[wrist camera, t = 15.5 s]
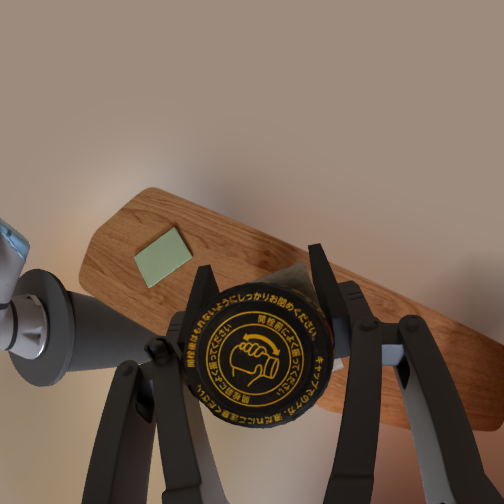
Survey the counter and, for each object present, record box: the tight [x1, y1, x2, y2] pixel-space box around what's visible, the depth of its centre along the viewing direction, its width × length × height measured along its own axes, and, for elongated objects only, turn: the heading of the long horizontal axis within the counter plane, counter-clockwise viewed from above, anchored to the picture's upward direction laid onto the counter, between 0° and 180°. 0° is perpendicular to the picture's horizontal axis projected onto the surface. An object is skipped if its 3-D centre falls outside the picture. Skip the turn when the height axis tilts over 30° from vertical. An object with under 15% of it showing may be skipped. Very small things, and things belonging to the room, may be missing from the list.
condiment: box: [183, 261, 343, 428], centre depth 15 cm, size 7×8×12 cm
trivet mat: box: [134, 227, 193, 288], centre depth 52 cm, size 10×7×1 cm
